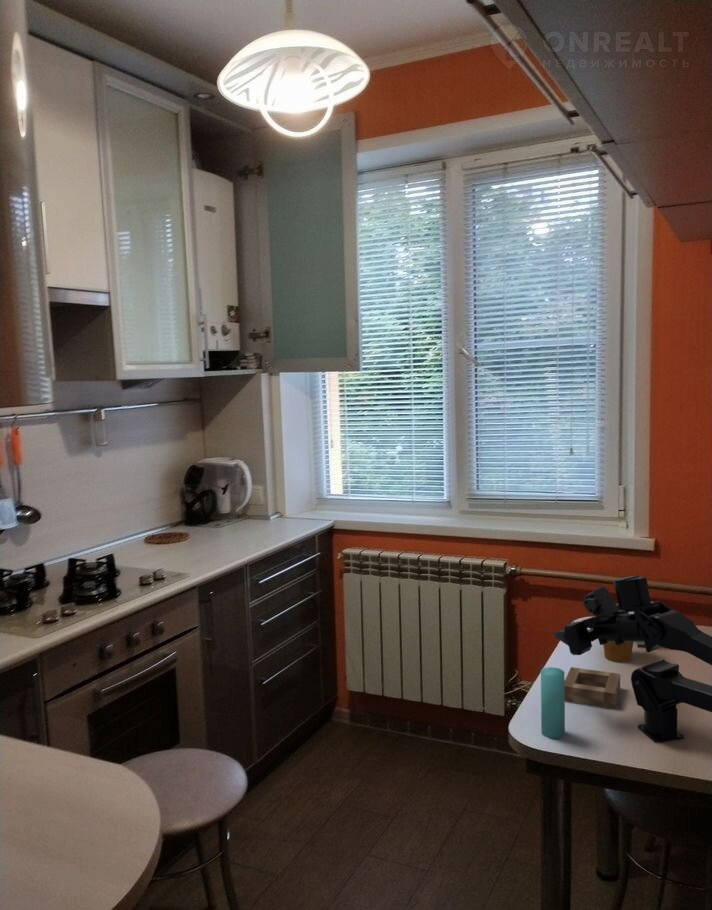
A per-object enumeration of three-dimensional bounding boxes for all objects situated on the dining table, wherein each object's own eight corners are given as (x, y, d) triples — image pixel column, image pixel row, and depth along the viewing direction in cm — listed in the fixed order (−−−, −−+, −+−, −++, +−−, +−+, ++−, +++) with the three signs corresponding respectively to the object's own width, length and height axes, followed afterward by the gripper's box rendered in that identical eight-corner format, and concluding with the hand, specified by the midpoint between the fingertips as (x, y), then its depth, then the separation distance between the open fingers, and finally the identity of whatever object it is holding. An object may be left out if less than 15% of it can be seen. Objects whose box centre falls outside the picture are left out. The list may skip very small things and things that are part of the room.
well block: (620, 688, 168) (620, 673, 167) (614, 709, 158) (614, 693, 157) (571, 681, 172) (571, 667, 172) (562, 700, 163) (562, 685, 162)
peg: (568, 737, 147) (568, 675, 145) (547, 740, 146) (546, 677, 145) (558, 726, 151) (558, 666, 150) (537, 729, 150) (537, 668, 149)
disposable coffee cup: (620, 648, 191) (620, 603, 190) (646, 661, 182) (646, 614, 181) (590, 654, 188) (589, 609, 187) (615, 667, 179) (615, 620, 178)
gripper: (642, 578, 157) (585, 583, 170) (588, 601, 147) (531, 604, 160) (656, 629, 157) (598, 630, 169) (603, 656, 146) (545, 655, 159)
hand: (568, 628), depth 164 cm, fingers open, 9 cm apart
